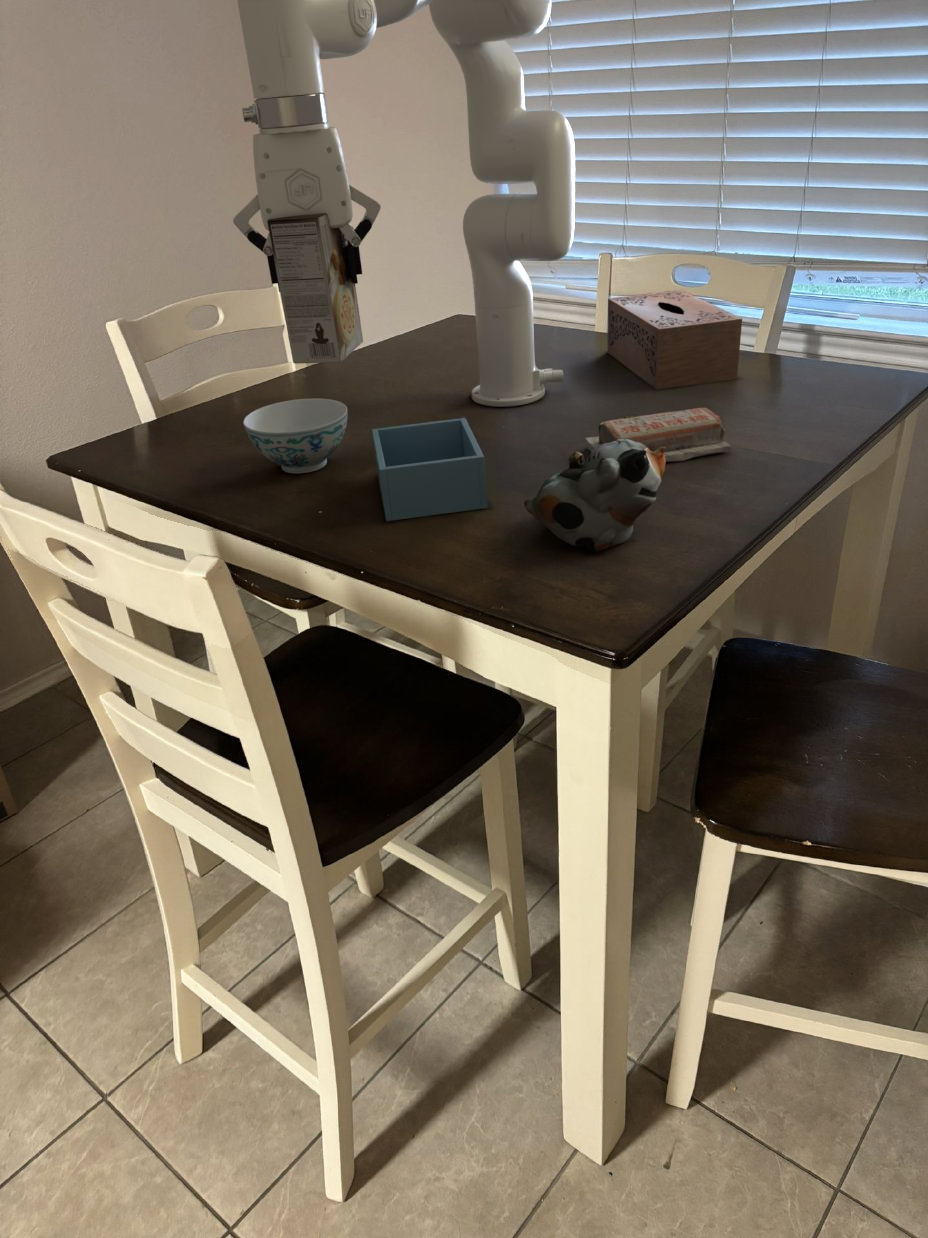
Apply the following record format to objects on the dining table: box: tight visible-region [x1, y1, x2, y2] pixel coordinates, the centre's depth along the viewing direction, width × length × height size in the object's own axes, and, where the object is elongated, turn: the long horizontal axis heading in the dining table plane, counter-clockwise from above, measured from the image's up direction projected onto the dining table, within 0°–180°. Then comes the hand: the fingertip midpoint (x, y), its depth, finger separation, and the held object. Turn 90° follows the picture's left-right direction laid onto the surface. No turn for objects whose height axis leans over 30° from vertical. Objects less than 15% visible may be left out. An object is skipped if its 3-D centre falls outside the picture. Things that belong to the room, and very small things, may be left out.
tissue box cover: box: [607, 289, 743, 391], centre depth 160 cm, size 26×14×10 cm, turn 11°
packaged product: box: [585, 407, 732, 463], centre depth 126 cm, size 18×5×10 cm
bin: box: [371, 417, 488, 522], centre depth 119 cm, size 13×16×7 cm
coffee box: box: [267, 213, 364, 365], centre depth 105 cm, size 9×6×16 cm
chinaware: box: [242, 398, 349, 474], centre depth 131 cm, size 15×15×8 cm
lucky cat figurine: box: [523, 439, 666, 553], centre depth 103 cm, size 15×12×14 cm
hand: (318, 284), depth 105 cm, fingers closed on coffee box, 8 cm apart
